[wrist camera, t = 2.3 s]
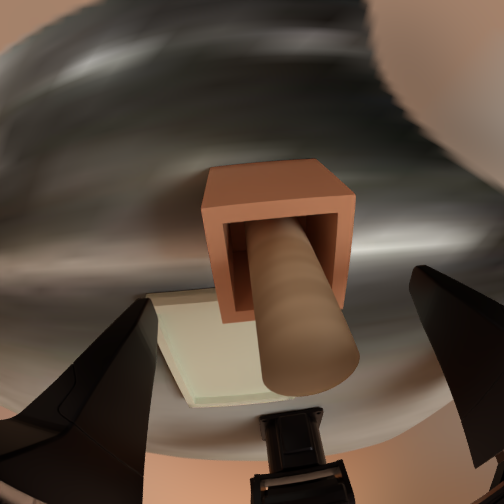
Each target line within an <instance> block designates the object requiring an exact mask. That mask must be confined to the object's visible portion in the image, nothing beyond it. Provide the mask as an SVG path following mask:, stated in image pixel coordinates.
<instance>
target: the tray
mask: <svg viewBox="0 0 504 504" xmlns="http://www.w3.org/2000/svg"><path fill="white" fill-rule="evenodd" d="M145 298H150V299H151V300H152V303H153V306H154V308H155V311H156V313H157V316H158V338H157V343H158V345H159V347H160V349H161V351H162V354H163V356H164V358H165V360H166V362H167V364H168V366H169V368H170V370H171V372H172V374H173V376H174V378H175V380H176V382H177V384H178V386H179V388H180V390H181V392H182V394H183V396H184V398H185V400H186V402H187V403H188V405H189V407H190V408H192V407H219V406H235V405H247V404H257V403H267V402H275V401H283V400H290V399H295V397H292V396H284V395H280V394H277V393H274V392H272V391H270V390H269V389H268V388H267V387H266V386H265V385H264V383H263V380H262V373H261V365H260V356H259V348H258V339H257V331H256V322H255V321H247V322H237V323H227V324H223V323H222V319H221V314H220V309H219V304H218V299H217V294H216V289H215V288H208V289H197V290H186V291H174V292H162V293H150V294H146V297H145Z"/></svg>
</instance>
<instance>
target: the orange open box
mask: <svg viewBox="0 0 504 504" xmlns="http://www.w3.org/2000/svg"><path fill="white" fill-rule="evenodd" d="M355 199H356V195H355V194H354V193H353V192H352V191H351V190H350V189H349V188H348V187H347V186H346V185H345V184H344V183H343V182H341V181H340V180H339V179H338V178H337V177H336V176H335V175H334V174H332V173H331V172H330V171H329V170H328V169H327V168H326V167H325V166H323V165H322V164H321V163H320V162H319V161H318V160H316V159H297V160H281V161H268V162H256V163H245V164H236V165H226V166H218V167H210V171H209V175H208V179H207V184H206V188H205V192H204V197H203V201H202V206H201V212H202V218H203V224H204V229H205V235H206V241H207V246H208V252H209V257H210V263H211V268H212V273H213V279H214V284H215V289H216V294H217V299H218V304H219V309H220V314H221V319H222V323H223V324H227V323H237V322H247V321H255V314H254V305H253V297H252V288H251V280H250V271H249V262H248V254H247V245H246V236H245V227H244V221H251V220H261V219H271V218H282V217H293V216H297V218H298V220H299V222H300V224H301V226H302V228H303V230H304V232H305V234H306V236H307V238H308V240H309V242H310V244H311V246H312V248H313V250H314V252H315V254H316V257H317V259H318V261H319V263H320V265H321V267H322V269H323V271H324V274H325V276H326V278H327V280H328V282H329V284H330V287H331V289H332V291H333V293H334V295H335V298H336V300H337V302H338V304H339V307H340V309H343V305H344V298H345V292H346V285H347V277H348V270H349V262H350V253H351V244H352V235H353V224H354V212H355Z"/></svg>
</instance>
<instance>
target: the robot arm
mask: <svg viewBox="0 0 504 504" xmlns="http://www.w3.org/2000/svg"><path fill="white" fill-rule="evenodd" d="M409 291H410V294H411V296H412V299H413V301H414V304H415V307H416V309H417V312H418V315H419V317H420V320H421V323H422V325H423V328H424V330H425V332H426V334H427V336H428V338H429V341H430V343H431V345H432V347H433V350H434V352H435V354H436V356H437V359H438V361H439V363H440V366H441V368H442V371H443V373H444V376H445V378H446V381H447V383H448V386H449V388H450V391H451V394H452V396H453V399H454V402H455V405H456V408H457V410H458V413H459V416H460V419H461V423H462V426H463V429H464V432H465V435H466V439H467V442H468V445H469V449H470V453H471V456H472V460H473V464H474V467H475V469H476V468H478V467H479V466H481V465H482V464H484V463H485V462H487V461H488V460H490V459H491V458H493V457H494V456H496V455H497V454H498V453H500V452H501V451H503V450H504V305H502V304H499V303H498V302H497V301H495V300H493V299H491V298H489V297H487V296H486V295H484V294H482V293H480V292H478V291H476V290H474V289H472V288H470V287H468V286H467V285H465V284H463V283H461V282H459V281H457V280H455V279H453V278H451V277H449V276H447V275H445V274H443V273H441V272H439V271H437V270H435V269H433V268H431V267H429V266H426V265H418V266H415V267H414V269H413V272H412V276H411V279H410V283H409ZM157 338H158V316H157V313H156V311H155V308H154V306H153V303H152V300H151V299H150V298H138V299H137V300H136V301H135V302H134V303H133V304H132V305H130V306H129V307H128V308H127V309H126V310H125V311H124V312H123V313H122V314H121V315H120V316H119V317H118V318H117V319H116V320H115V321H114V322H113V323H112V324H111V325H110V326H109V327H108V328H107V329H106V330H105V331H104V332H103V333H102V334H101V335H100V336H99V337H98V338H97V339H96V340H95V341H94V342H93V343H92V344H91V345H90V346H89V347H88V348H87V349H86V350H85V351H84V352H83V353H82V354H81V355H80V356H79V357H78V358H77V359H76V360H75V361H74V362H73V364H71V365H70V366H69V367H68V369H67V370H66V371H65V372H64V373H63V374H62V375H61V376H60V377H59V378H58V379H57V380H56V381H55V382H54V383H53V384H51V385H50V386H49V387H48V388H47V389H46V390H45V391H44V392H43V393H42V394H41V395H39V396H38V397H37V398H36V399H35V400H34V401H33V402H32V403H31V404H29V405H28V406H27V407H26V408H25V409H24V410H23V411H22V412H20V413H19V414H18V415H16V416H14V417H12V418H9V419H5V420H0V504H142V499H143V498H142V497H143V476H144V463H145V451H146V440H147V430H148V421H149V413H150V405H151V397H152V389H153V382H154V375H155V369H156V359H157ZM322 416H323V408H315V409H310V410H304V411H298V412H291V413H284V414H276V415H268V416H262V417H260V418H259V421H260V428H261V434H262V440H263V441H266V446H267V455H268V463H269V471H270V474H261V475H260V474H255V475H254V478H251V479H250V485H251V504H355V498H354V493H353V490H352V487H351V484H350V481H349V478H348V475H347V472H346V469H345V466H344V463H343V460H342V459H341V460H337V461H336V462H332V463H327V464H326V459H325V455H324V450H323V446H322V441H321V437H320V432H319V426H320V423H321V420H322ZM266 487H268V490H266ZM471 504H504V460H503V461H502V462H501V463H499V464H498V466H497V469H496V473H495V475H494V478H493V481H492V484H491V487H490V490H489V492H488V493H486V494H485V495H483V496H482V497H481V498H479V499H477V500H476V501H474V502H473V503H471Z"/></svg>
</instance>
